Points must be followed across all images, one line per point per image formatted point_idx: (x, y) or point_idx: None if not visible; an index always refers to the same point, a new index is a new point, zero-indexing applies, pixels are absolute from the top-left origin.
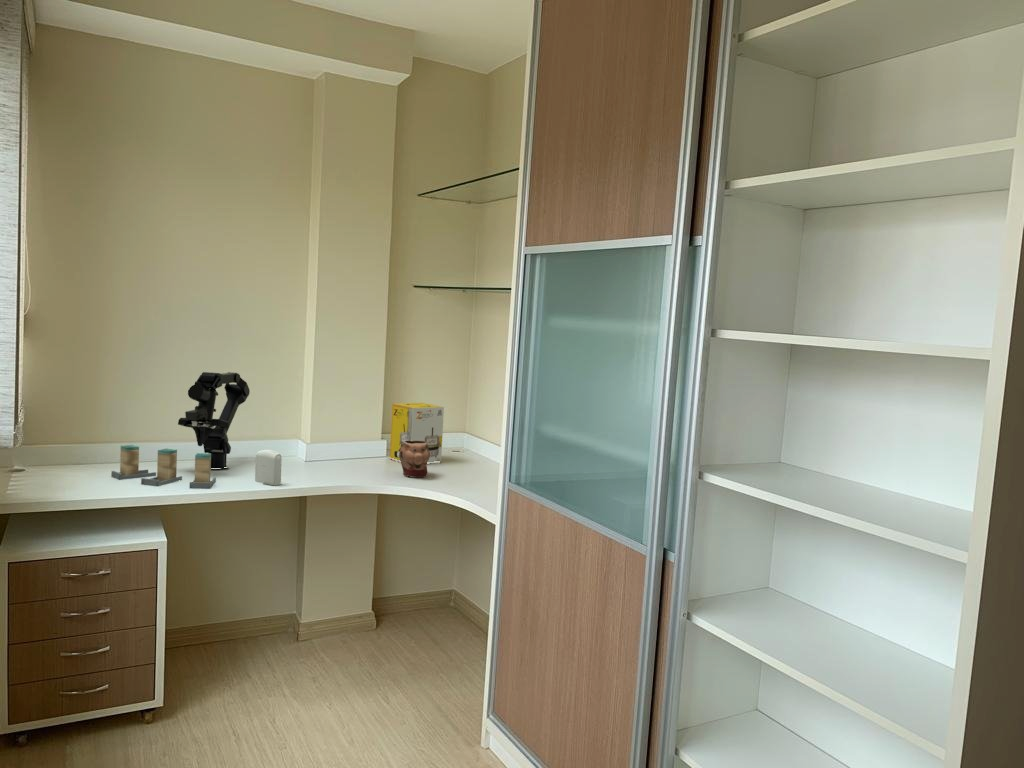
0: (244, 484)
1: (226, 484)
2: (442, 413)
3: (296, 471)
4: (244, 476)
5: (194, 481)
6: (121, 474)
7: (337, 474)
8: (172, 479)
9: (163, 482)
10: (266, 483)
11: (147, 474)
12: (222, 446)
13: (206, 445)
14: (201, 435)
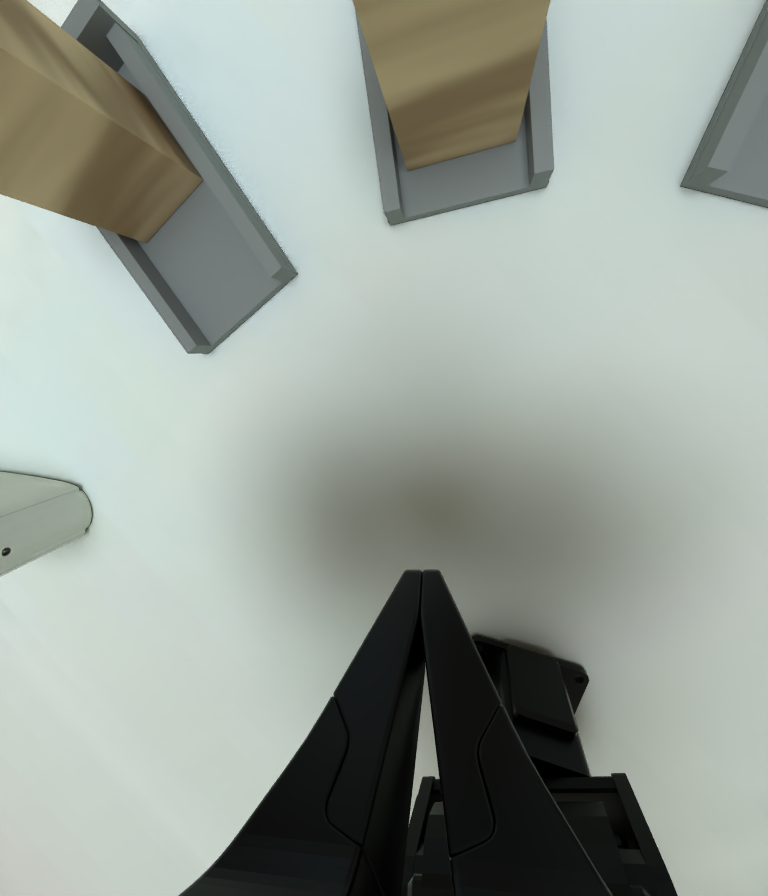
0: (76, 412)
1: (129, 348)
2: None
3: (164, 784)
4: (230, 581)
5: (112, 69)
6: None
7: (29, 790)
8: (364, 67)
9: None
10: (5, 473)
11: (751, 66)
12: (421, 846)
13: (586, 825)
14: (344, 732)
